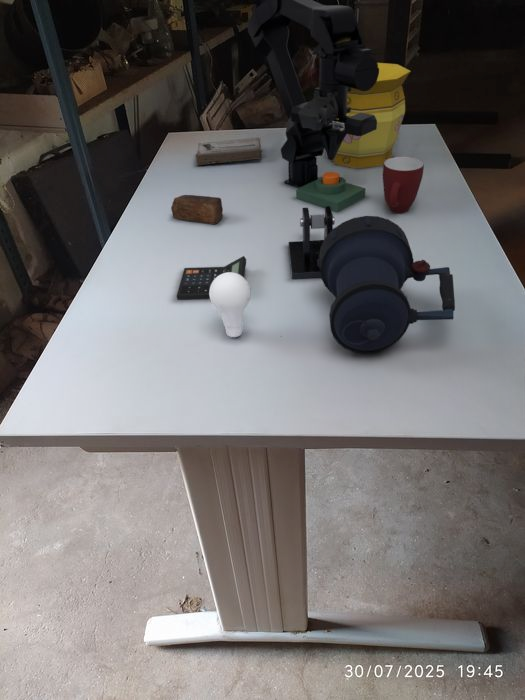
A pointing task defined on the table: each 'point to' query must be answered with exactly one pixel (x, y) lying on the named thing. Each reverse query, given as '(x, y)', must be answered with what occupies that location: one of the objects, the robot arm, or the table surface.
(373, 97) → the container
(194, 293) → the calculator
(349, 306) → the flashlight
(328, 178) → the button
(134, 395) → the table surface
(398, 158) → the mug
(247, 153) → the box
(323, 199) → the button block
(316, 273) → the bracket
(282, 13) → the robot arm
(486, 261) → the table surface
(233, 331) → the lightbulb
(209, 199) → the brick
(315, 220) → the lever
